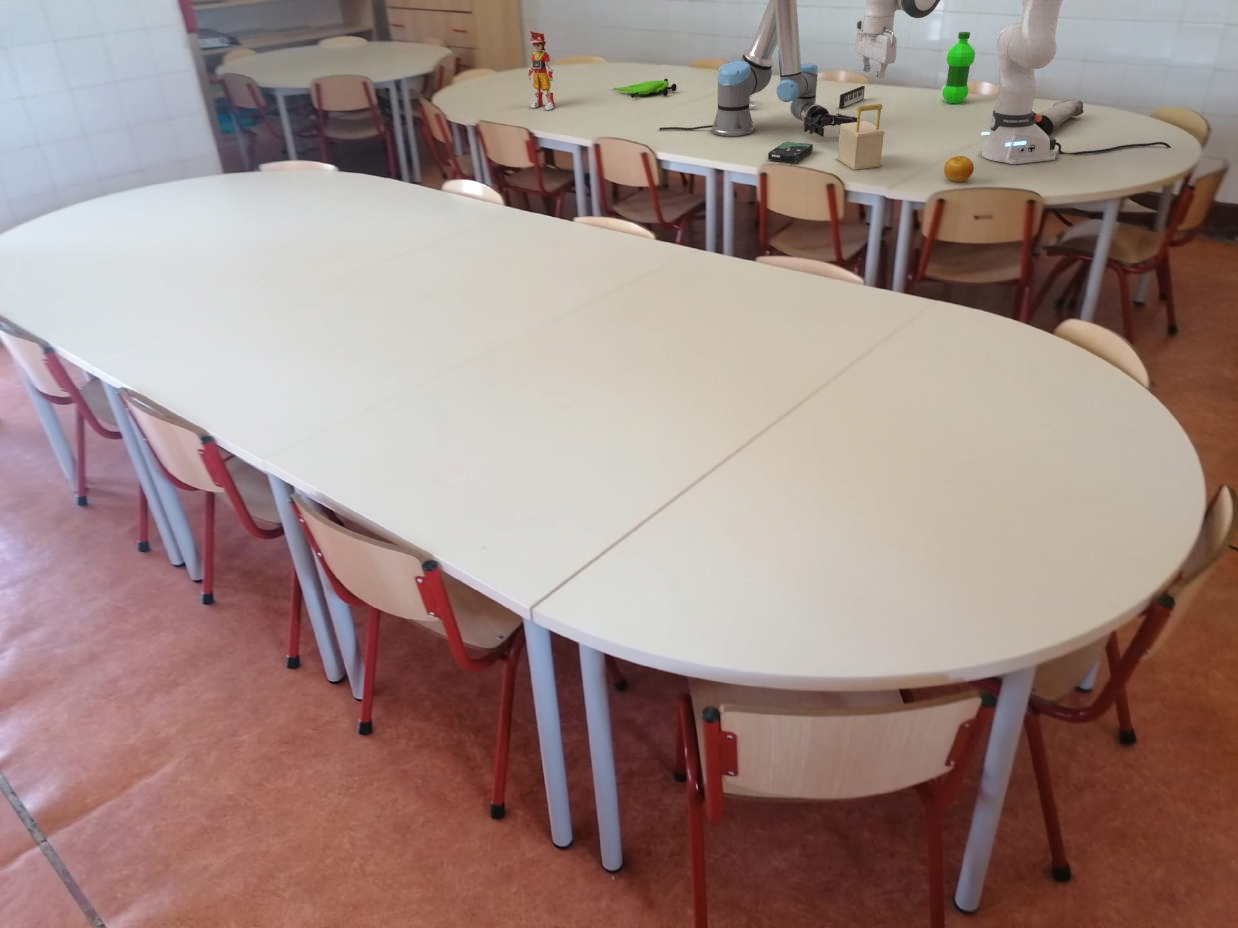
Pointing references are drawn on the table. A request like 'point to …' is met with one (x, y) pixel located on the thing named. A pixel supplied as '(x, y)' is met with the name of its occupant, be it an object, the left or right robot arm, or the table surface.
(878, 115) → the lid
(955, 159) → the fruit
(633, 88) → the toy
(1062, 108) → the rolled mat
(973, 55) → the plastic bottle
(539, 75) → the toy
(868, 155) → the chest
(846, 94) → the midi keyboard
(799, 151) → the disk drive
